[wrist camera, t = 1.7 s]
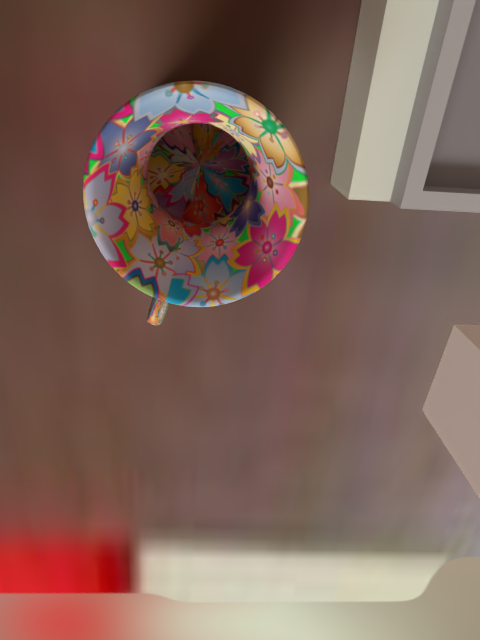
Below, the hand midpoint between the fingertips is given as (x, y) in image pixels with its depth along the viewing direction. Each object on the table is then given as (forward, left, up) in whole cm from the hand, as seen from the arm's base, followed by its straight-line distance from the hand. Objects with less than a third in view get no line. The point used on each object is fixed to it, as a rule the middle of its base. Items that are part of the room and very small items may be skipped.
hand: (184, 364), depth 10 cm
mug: (0, 0, -20) cm, 20 cm away
